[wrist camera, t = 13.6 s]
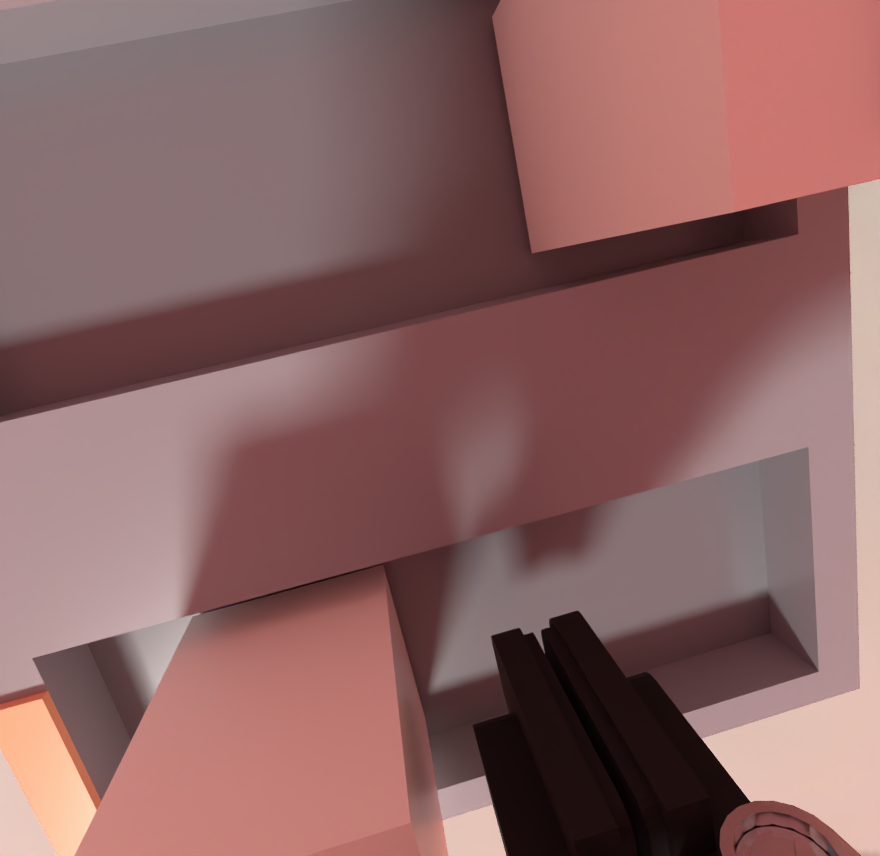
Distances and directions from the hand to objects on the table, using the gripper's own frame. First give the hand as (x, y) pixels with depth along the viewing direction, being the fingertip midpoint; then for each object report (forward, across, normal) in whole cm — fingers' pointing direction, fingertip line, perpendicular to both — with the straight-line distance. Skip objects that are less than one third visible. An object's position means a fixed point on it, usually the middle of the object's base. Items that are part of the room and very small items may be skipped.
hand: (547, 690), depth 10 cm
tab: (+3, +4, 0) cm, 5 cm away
